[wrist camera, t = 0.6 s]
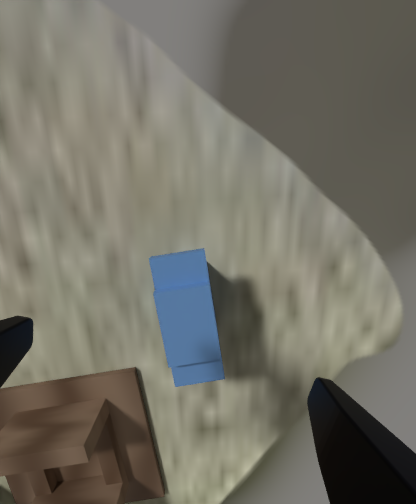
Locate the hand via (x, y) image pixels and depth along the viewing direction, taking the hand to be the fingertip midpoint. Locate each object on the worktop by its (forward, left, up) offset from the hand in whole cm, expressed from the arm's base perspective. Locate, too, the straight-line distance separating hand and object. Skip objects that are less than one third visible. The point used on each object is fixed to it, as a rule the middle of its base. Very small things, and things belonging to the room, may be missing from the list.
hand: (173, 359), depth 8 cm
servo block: (0, -3, -14) cm, 14 cm away
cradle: (-13, -16, -13) cm, 25 cm away
